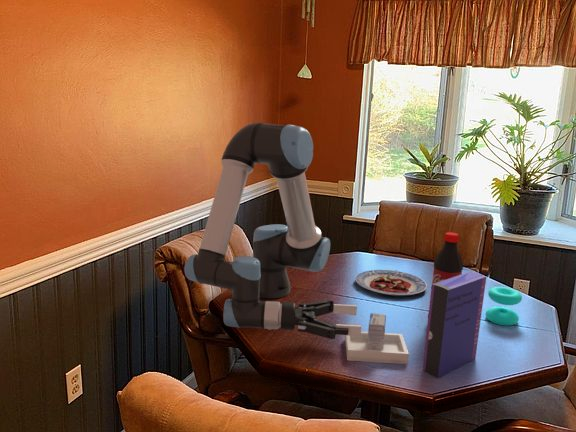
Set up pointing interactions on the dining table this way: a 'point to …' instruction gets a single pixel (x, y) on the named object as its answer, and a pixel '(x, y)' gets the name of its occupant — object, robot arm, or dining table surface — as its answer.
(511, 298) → the donuts
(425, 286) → the ceramic plate
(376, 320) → the medicine box
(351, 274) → the dining table surface
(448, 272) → the cola bottle
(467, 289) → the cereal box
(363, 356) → the tray
